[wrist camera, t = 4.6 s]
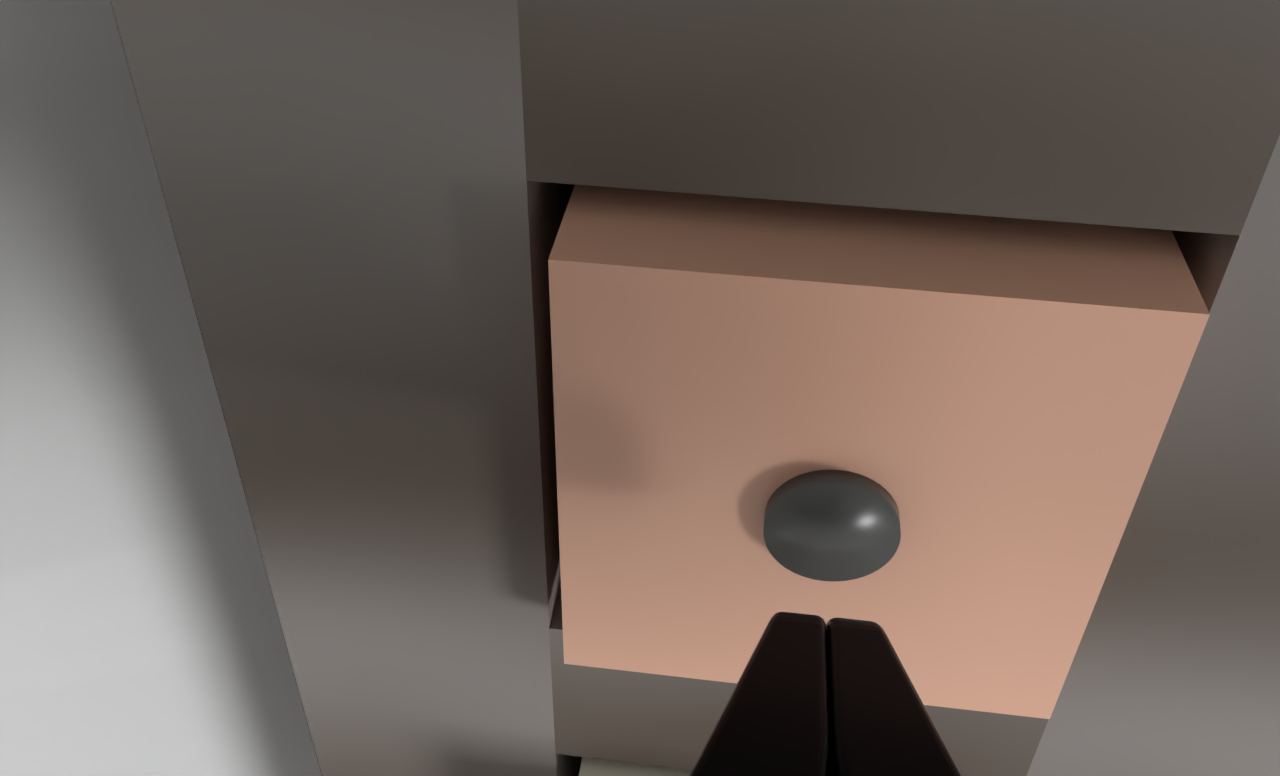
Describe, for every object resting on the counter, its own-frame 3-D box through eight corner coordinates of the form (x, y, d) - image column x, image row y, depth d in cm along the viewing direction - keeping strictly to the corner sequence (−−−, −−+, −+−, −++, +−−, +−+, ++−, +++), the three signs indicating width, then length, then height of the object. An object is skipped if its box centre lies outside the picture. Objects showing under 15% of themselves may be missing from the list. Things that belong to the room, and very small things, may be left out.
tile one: (608, 89, 11) (543, 273, 9) (1123, 125, 11) (1216, 330, 8) (609, 461, 15) (560, 678, 12) (1010, 500, 14) (1052, 736, 12)
